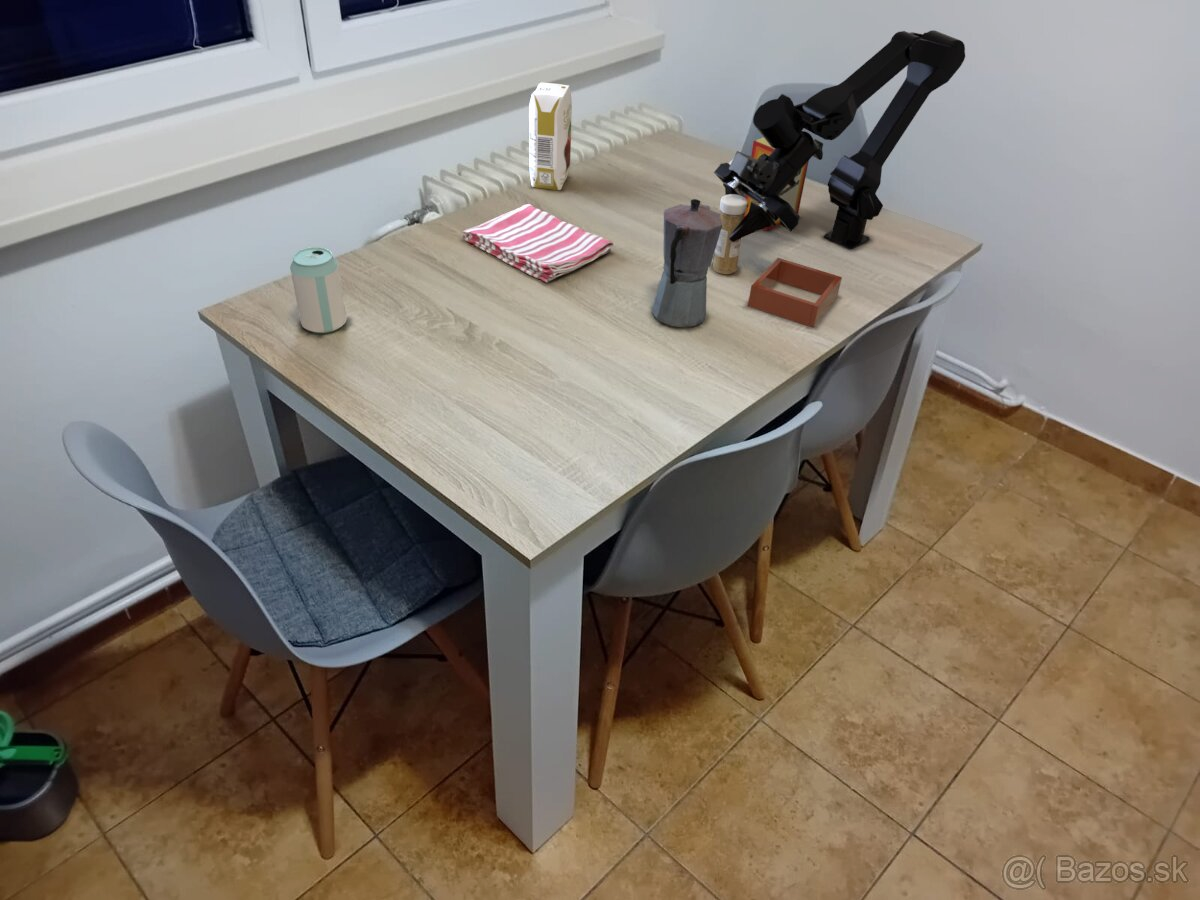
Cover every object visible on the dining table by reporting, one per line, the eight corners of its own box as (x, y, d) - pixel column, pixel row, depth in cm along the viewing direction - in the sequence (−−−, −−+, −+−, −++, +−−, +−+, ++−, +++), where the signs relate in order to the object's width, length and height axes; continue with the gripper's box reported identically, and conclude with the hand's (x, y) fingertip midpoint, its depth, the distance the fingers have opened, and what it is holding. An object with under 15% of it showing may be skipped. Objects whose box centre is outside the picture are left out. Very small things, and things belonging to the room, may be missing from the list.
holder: (774, 277, 162) (778, 257, 159) (837, 297, 158) (842, 277, 155) (747, 306, 154) (751, 285, 152) (813, 327, 150) (818, 306, 147)
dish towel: (550, 286, 156) (550, 268, 154) (459, 239, 167) (458, 222, 165) (615, 253, 166) (616, 236, 164) (526, 211, 177) (525, 194, 175)
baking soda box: (772, 206, 185) (786, 128, 174) (797, 217, 181) (813, 138, 171) (741, 218, 180) (753, 139, 169) (766, 231, 176) (780, 150, 166)
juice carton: (527, 188, 185) (526, 94, 173) (536, 171, 192) (536, 79, 180) (563, 193, 185) (565, 98, 172) (571, 176, 191) (574, 83, 179)
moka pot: (718, 300, 155) (734, 189, 142) (695, 346, 144) (711, 230, 131) (664, 288, 157) (676, 178, 144) (637, 333, 146) (648, 218, 133)
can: (298, 316, 145) (284, 248, 137) (342, 308, 147) (331, 241, 140) (305, 339, 140) (292, 270, 133) (351, 331, 143) (340, 262, 135)
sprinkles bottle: (739, 275, 162) (749, 205, 153) (713, 275, 162) (722, 204, 153) (735, 262, 165) (745, 193, 157) (710, 262, 165) (718, 192, 156)
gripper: (730, 116, 156) (669, 188, 159) (798, 156, 144) (731, 233, 146) (759, 153, 164) (702, 221, 167) (826, 194, 152) (763, 267, 155)
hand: (723, 234), depth 158 cm, fingers closed on sprinkles bottle, 4 cm apart
